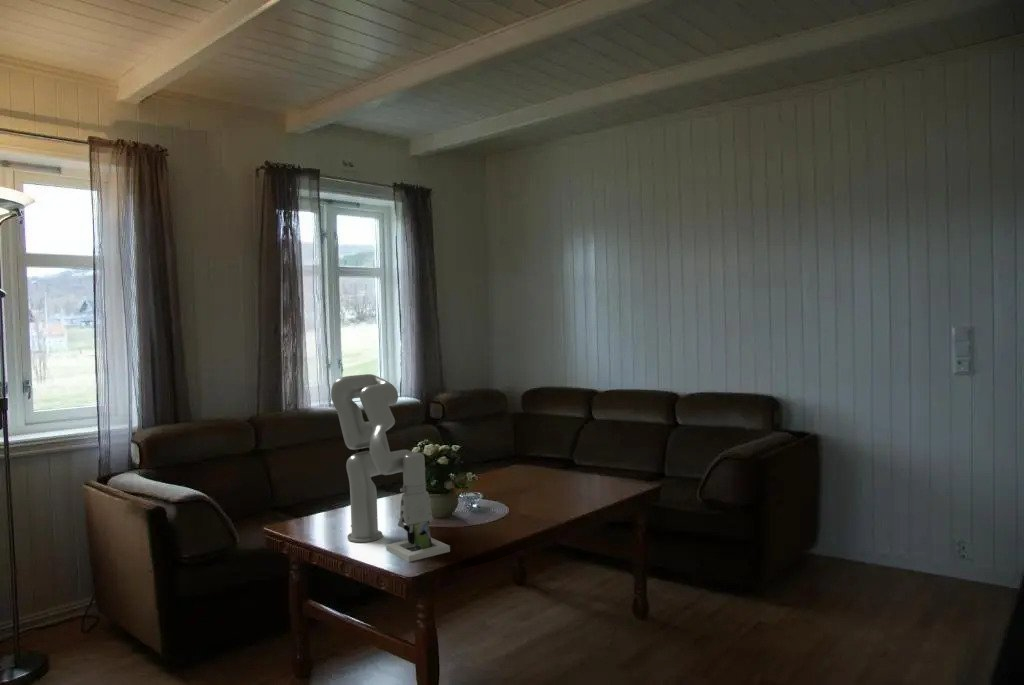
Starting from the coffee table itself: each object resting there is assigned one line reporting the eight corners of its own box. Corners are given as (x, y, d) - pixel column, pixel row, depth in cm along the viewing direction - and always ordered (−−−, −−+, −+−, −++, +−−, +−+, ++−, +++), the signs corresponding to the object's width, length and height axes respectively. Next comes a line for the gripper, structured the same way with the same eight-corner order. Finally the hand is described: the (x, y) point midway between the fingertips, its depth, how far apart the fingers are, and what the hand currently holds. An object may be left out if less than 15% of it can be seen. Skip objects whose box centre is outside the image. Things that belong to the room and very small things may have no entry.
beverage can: (435, 549, 254) (434, 514, 253) (419, 554, 248) (418, 519, 248) (423, 545, 258) (422, 512, 257) (407, 551, 252) (406, 516, 252)
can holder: (386, 550, 254) (386, 544, 254) (426, 540, 264) (426, 535, 263) (408, 562, 241) (408, 556, 241) (450, 551, 251) (449, 545, 251)
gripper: (397, 495, 243) (399, 549, 244) (440, 487, 253) (442, 539, 253) (387, 491, 249) (389, 544, 250) (430, 483, 259) (432, 535, 259)
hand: (416, 541), depth 252 cm, fingers open, 3 cm apart
